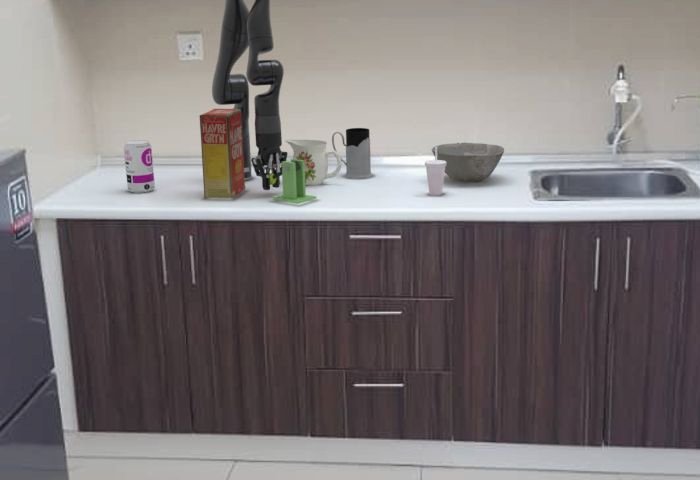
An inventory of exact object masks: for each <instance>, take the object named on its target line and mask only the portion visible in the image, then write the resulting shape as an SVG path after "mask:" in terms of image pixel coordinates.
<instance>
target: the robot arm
mask: <svg viewBox="0 0 700 480" xmlns="http://www.w3.org/2000/svg"><path fill="white" fill-rule="evenodd" d="M224 3H225V4H224V9H223V15H222V21H221V29H220V40H219V46H218V48H219V49H218V54H217V55H218V56H217V61H216V65H215V68H214V69H215V70H214V72H213V73H214V74H213V78H212V83H211V97H212V99H213V102H214V103H215V104H217V105H220V106H227V105H234V106H233V107H232V109H241V121H242V140H243V160H244V178H245V182H246V181H251V180H252V179H253V175H252V167H253V170H254V173H255V175H256V176H257V177H261V186H262V189H263V191H270V190H271V186H272V188H277V189H278V188H280V184H281V180H280V179H281V176H280V177H278V178H276V182H275V183H274V184H272V185H270V178H269V174H270V173H273V174H274V175H275V174H277V173H279V172H281V171H282V162H283V161H286V162H287V160H288V159H287V158H288V155H289V154H288V152H287V151H283V150H281V146H282V145H283V141H282V140H283V137H282V121H281V115H280V95H281V88H282V84H283V81H284V75H285V73H284V72H285V69H284V66H283V64H282V62H281V61H280V60H278V59H260V60H259V57H260V56H261V55H264V54H268V53H270V52H273V50H274V45H275V44H274V38H273V37H274V36H273V30H272V22H271V0H254V2H253V4H252V6H251V8H250V9H249V7H248V6H247V4H246V2H245V0H225V2H224ZM247 50H248V60H247V65H246V73H245V74H246V75H245V74H244V73H232V74H231V71H232V70H233V68H234V66H235V65H236V63H237V62H238V60H240V59H241V57H242V56H243V55H244V54H245V52H246V51H247ZM249 84H250V85H251V86H255V87H259V86H269V88H268V90H267V91H265V92H261V93H258V94H256V95H255V96H254V98H253V102H254V135H255V146H256V148H257V149H258V151H257V155H256V156H255V157H251V155H252V154H251V142H250V140H251V137H250V122H249V121H250V85H249ZM270 171H271V172H270Z"/></svg>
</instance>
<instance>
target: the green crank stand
mask: <svg viewBox="0 0 700 480" xmlns="http://www.w3.org/2000/svg"><path fill="white" fill-rule="evenodd" d="M296 161H298V164H299V166H300V169H299V170H297V171H296V166H295V163H294V162H296ZM281 165H282V175H281V178H282V194H281V195H280V194H279V195H277V196H274V197H272V200H273V201H280V202H286V203H293V204H298V205H299V204H302V203H306V202H309V201H312V200H315V199H317V196H315V195H308V194H307V192H306V190H307V189H306V185H305V165H304V160H297V159H293V158H291V159H290V161H287V160H286V161H283V162H282V163H281Z"/></svg>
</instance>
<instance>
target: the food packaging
mask: <svg viewBox="0 0 700 480" xmlns="http://www.w3.org/2000/svg"><path fill="white" fill-rule="evenodd" d="M199 129H200V130H199V131H200V143H201V144H200V145H201V163H202V180H203V182H202V183H203V199H213V198H214V199H233V198H235V197H236V196H238V195H239V194H241V192H243V191H244V190H246V181H245V178H244V160H243V140H242V121H241V109H233V108H212V109H211V110H209V111H207V112H204V113H202V114H199Z"/></svg>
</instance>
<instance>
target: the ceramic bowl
mask: <svg viewBox="0 0 700 480" xmlns="http://www.w3.org/2000/svg"><path fill="white" fill-rule="evenodd" d="M435 147H437V160H443V161H446V166H445V173H444V174H445V175H446V176H448V177H449V178H450V179H452V180H453V181H458V182H471V183H472V182H473V183H474V182H475V183H478V182H483V181H485V180H487V179H488V178H489V177H490V176H491V175H492V174H493V173H494V171H495V169H496V168H497V166H498V164H499V163H500V162H501V159H502V157H503V155H504V153H505V148H504V146H501V145H498V144H489V143H481V142H480V143H479V142H478V143H477V142H475V143H474V142H456V143H444V144H442V143H441V144H439V145H435V146H433V147H432V148H431V152H432V155H433V156H434V157H435Z"/></svg>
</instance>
